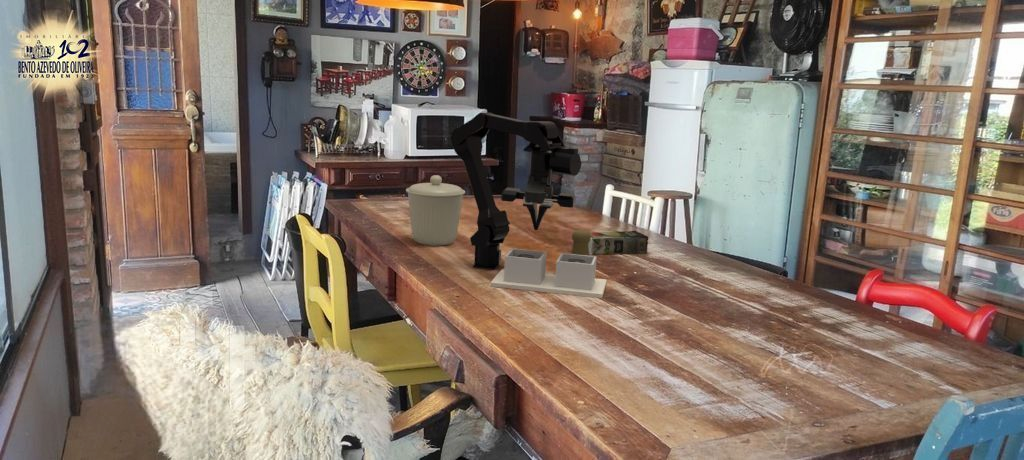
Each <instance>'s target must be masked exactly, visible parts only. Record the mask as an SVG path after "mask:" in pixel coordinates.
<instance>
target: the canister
mask: <svg viewBox="0 0 1024 460" xmlns="http://www.w3.org/2000/svg"><path fill="white" fill-rule="evenodd" d="M429 181H430V182H421V183H416V184H412V185H410V186H409V187H406V189H405V192H406V193H407V196H408V206H409V208H408V209H409V220H410V228H411V229H410V230H411V235H412V238H413V240H414V241H415V242H416V243H418V244H420V245H425V246H433V247H436V246H438V247H439V246H448V245H451V244H452V243H454V242H455V240H456V239H457V235H458V230H459V224H460V218H461V210H462V203H463V197H464V195H465V194H466V191H465V190H464V189H462V187H460V186H458V185H456V184H452V183H451V184H450V183H445V182H444V183H443V182H442V181H443V180H442V176H440V175H438V174H436V175H432V176H430V180H429Z"/></svg>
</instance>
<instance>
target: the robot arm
mask: <svg viewBox="0 0 1024 460" xmlns="http://www.w3.org/2000/svg"><path fill="white" fill-rule="evenodd" d="M490 130H493V131H498V132H503V133H506V134H510V135H515V136H519V137H521V138H522V139H523V140H525V141H526V142H529V144H528V145H527V146H525V147H524V148H523V151H524V152H526V153H527V152H528V153H530V155H529V156H530V157H529V172H528V180H527V183H526V186H525V189H524V192H523V191H521V188H517V187H515V188H514V187H506V188H505V189H503V190H502V191H501V197H500V198H501V199H500V200H501V201H502V202H509V203H511V202H512V203H513V202H514V201H516V200H523V203H522V207H526V208H527V210H528V211H529V215H530V218H531V219H530V220H531V221H532V226H533V230H534V231H538V230H539V228H540V226H541V223H542V221H543V218H544V216H545V214H546V213H547V210H548V209H551V208H553V206H554V203H557V204H558V205H559V207H560V208H570V209H571V208H574V207H575V205H576V199H577V198H576V195H575V193H569V192H568V193H567V192H560V193H559V194H558V195H555V194H554V188H553V187H554V186H553V184H551V183H552V173H554V174H559V175H567V176H573V177H576V176H577V175H579V173H580V171H581V167H582V160H581V156H580V155H581V154H579V148H576V147H566V145H565V143H564V142H563V140H562V139H563V138H561V136H560V134H559V129H558V127H557V124H556V123H554V122H553V121H548V120H547V121H538V120H537V121H526V120H523V119H518V118H512V117H508V116H503V115H499V114H494V113H493V112H479V113H478V114H476V115H475V116H474V117H473V118H471V119H470V120H468V121H467V122H465V123H463V124H462V125H461V126H460V127H457V128H454V129H453V131H452V132H451V135H450V136H449V138H450V139H449V140H450V143H451V147H453V151H454V153H455V154H456V155H457V156H458V157H459V158H460V159H461V160H462V162H463V164H464V168H465V169H466V170H465V171H466V174H467V176H468V177H467V178H468V180H469V183H470V186H471V190H472V193H473V197H474V200H475V203H476V206H477V209H478V215H477V220H476V224H477V230H476V232H474V233H473V234H472V235H471V236H470V239H469V240H470V243H471V246H474V264H472V268H478V269H487V270H497V268H498V267H499V266H500V265H501V263H502V250H501V249H500V244H503V243H504V242H505V238H507V236H508V234H509V232H510V225H511V223H510V221H509V219H508V215H507V212H506V210H505V209H504V210H500V208H498V207H497V205H496V202H495V199H494V195H493V192H492V188H491V186H490V182H489V179H488V176H487V173H486V169H485V166H484V162H483V159H482V152H483V141H482V140H483V139H484V138H485V137H486V136H488V134H489V131H490ZM538 205H539V206H538Z"/></svg>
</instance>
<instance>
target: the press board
mask: <svg viewBox="0 0 1024 460" xmlns="http://www.w3.org/2000/svg"><path fill="white" fill-rule="evenodd" d="M547 253H548V252H547V251H543V250H535V249H534V250H533V249H521V248H511V249H510V250H509V251H508V252H507V253H506V255H504V266H503V267H504V268H502V269H501V270H500V271H499V272H498V273H497V274H496V275H495V277H493V279H492V280H491V281H490V288H491V287H493V288H501V289H502V288H504V289H512V290H522V291H530V292H540V293H548V294H549V293H550V294H559V295H570V296H576V297H577V296H578V297H588V298H596V299H603V297H604V293H605V289H606V286H607V280H608V279H605V278H596V271H597V258H598V257H597V256H598V255H589V256H587V255H576V254H571V253H566V252H565V253H564V252H563V253H562V252H560V255H558V258H557V259H556V261H555V274H554V273H546V269H547ZM520 254H529V255H533V256H535V259H534V258H523V257H518V255H520ZM569 259H581V260H584V261H585V263H575V262H568V260H569Z"/></svg>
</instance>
